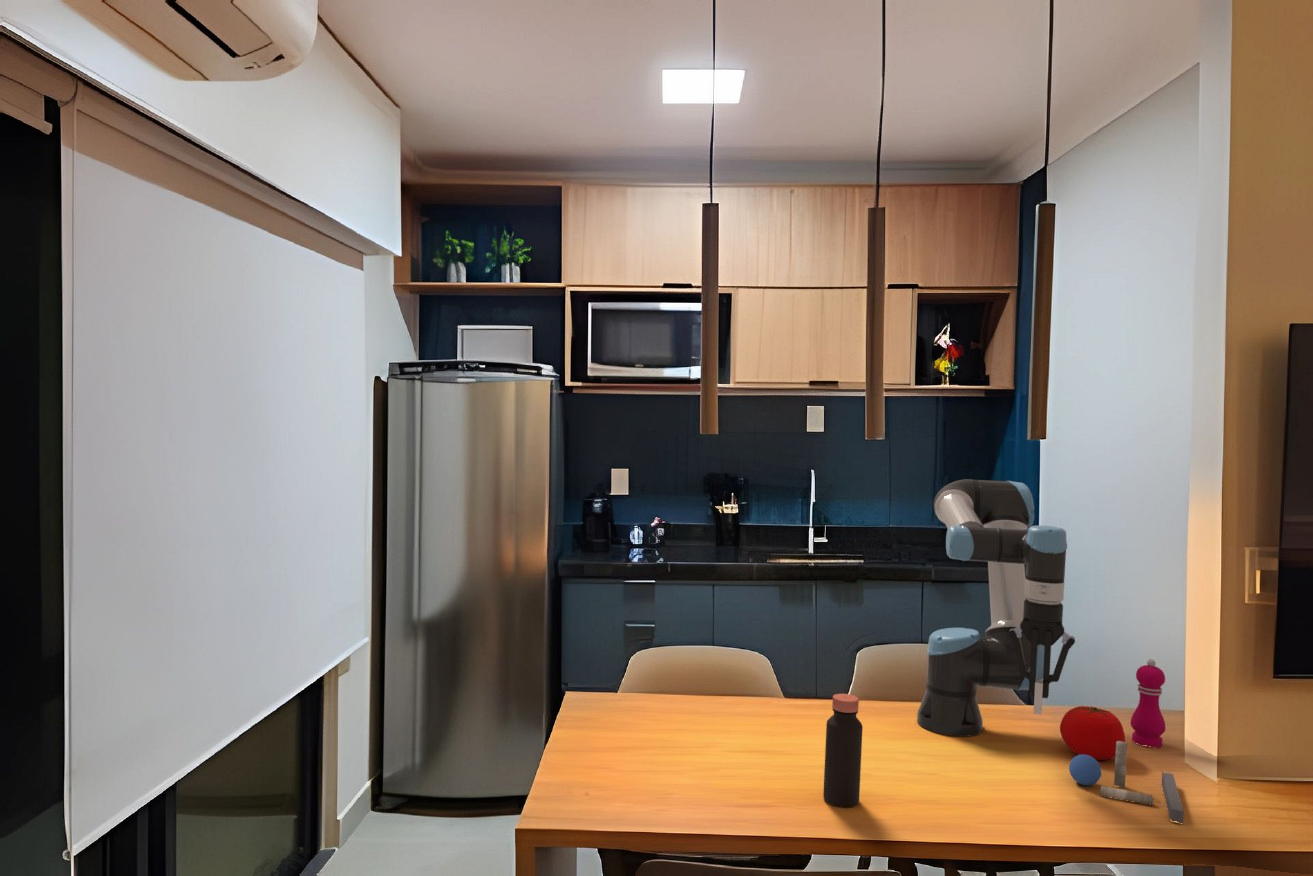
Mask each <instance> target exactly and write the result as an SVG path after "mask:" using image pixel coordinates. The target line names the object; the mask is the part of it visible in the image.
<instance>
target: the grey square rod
mask: <svg viewBox="0 0 1313 876" xmlns="http://www.w3.org/2000/svg"><path fill="white" fill-rule="evenodd" d="M1160 782H1161V783H1162V784H1161V788H1163V789H1162V792H1164V793H1163V796H1165V797H1164V800H1165V799H1166V801H1165V804H1167V805H1166V809H1167V808H1168V809H1167V813H1168V812H1169V813H1168V816H1169V815H1170V817H1169V820H1170V819H1171V820H1172V821H1177V822H1179V823H1183V824H1184V816H1185V815H1184V814H1185V813H1184V808H1183V804H1182V801H1181V797H1180V793H1179V790H1178V787H1177V782H1176V780H1175V776H1174V774H1173V773H1169V772H1164V771H1162V772H1161V781H1160Z"/></svg>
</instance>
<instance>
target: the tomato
mask: <svg viewBox="0 0 1313 876" xmlns="http://www.w3.org/2000/svg"><path fill="white" fill-rule="evenodd" d="M1059 732H1060V735H1061V738H1062V740H1063V742H1064V743H1065V745H1066V746H1067V747H1068V748H1069V749H1070V750H1071V751H1073V752H1074V753H1076V755H1082V754H1084V755H1089V756H1091V757H1093V758H1094V759H1095V760H1096V761H1101V760H1102V761H1104V760H1111V759H1114V758H1115V757H1116V742H1117V741H1122V742H1126V735H1125V731H1124V727H1123V724H1122V723H1121V721H1120V720H1119V718H1118V717H1117V716H1116V715H1115V714H1114V713H1113V712H1112V711H1109V710H1106V709H1103V708H1098V707H1094V706H1092V705H1090V706H1086V705H1085V706H1084V705H1081V706H1080V705H1079V706H1076V707H1073V708H1071V709H1069V710H1068V711H1067V712H1065V713H1064V715H1063V717H1062V718H1061V722H1060V724H1059Z"/></svg>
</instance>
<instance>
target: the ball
mask: <svg viewBox="0 0 1313 876" xmlns="http://www.w3.org/2000/svg"><path fill="white" fill-rule="evenodd" d="M1068 766H1069V767H1068V768H1069V769H1068V772H1069V773H1070V776H1071V778H1072V779H1073V780H1074V781H1075V782H1077V783H1078V784H1080V785H1082V786H1093V785H1095V784H1097V783H1098V782H1099V781H1100V780H1101V777H1102V768H1101V767H1102V766H1101V764H1100V763H1099V762H1098V760H1096V759H1094V758H1093V757H1091V756H1089V755H1084V754H1082V755H1079V754H1076V755H1075V756H1073V757H1072V759H1071V760H1070V761H1069V765H1068Z"/></svg>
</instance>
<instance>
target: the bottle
mask: <svg viewBox="0 0 1313 876" xmlns="http://www.w3.org/2000/svg"><path fill="white" fill-rule="evenodd" d="M859 701H860V700H859V697H857V696H856V695H852V694H850V693H849V694H848V693H836V694H834V695H832V701H831V702H832V706H831V707H832V711H833V714H832V715H831V716H830V717H829V718H828V719H827V720H826V728H825V731H826V732H825V746H824V747H825V748H824V749H825V750H824V753H825V754H824V770H823V771H824V773H823V790H822V791H823V793H822V794H823V795H822V796H823V800H824V801H825V802H826V803H827V804H829V805H831V806H834V807H838V808H853V807H855V806H857V805H858V804H859V803H860V795H861V794H860V791H861V788H860V787H861V769H862V748H863V747H862V745H863V729H864V728H863V724H862V722H861V721H860V720H859V718H858V717H857V715H858V713H859V704H860V703H859Z"/></svg>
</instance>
